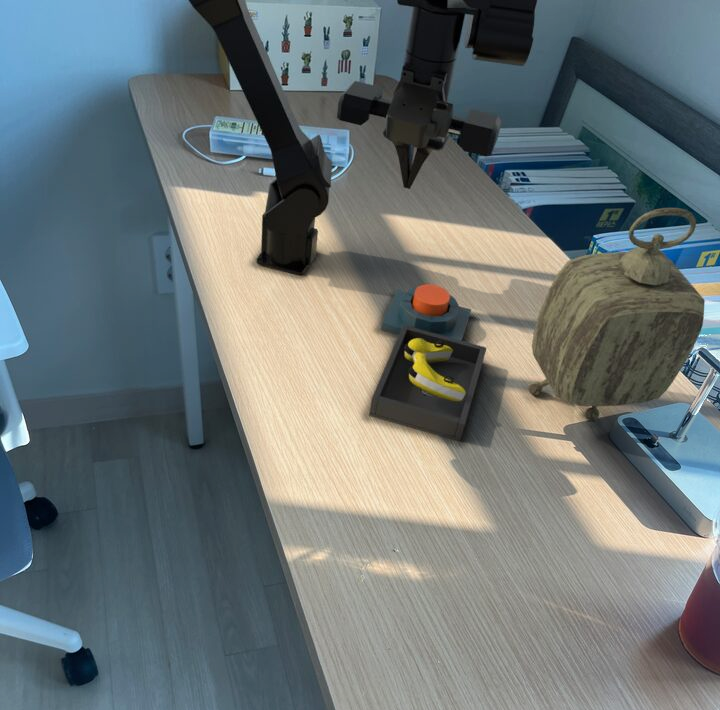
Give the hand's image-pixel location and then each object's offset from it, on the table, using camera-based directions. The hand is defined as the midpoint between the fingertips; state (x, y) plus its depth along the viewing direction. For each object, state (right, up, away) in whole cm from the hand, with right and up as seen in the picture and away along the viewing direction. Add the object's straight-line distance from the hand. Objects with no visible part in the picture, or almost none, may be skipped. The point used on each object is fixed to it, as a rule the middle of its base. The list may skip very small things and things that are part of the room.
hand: (407, 187), depth 95 cm
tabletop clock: (+20, -28, -6) cm, 35 cm away
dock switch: (+2, -17, +1) cm, 17 cm away
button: (+3, -15, -1) cm, 15 cm away
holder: (+2, -26, -7) cm, 27 cm away
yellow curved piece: (+2, -26, -8) cm, 27 cm away
